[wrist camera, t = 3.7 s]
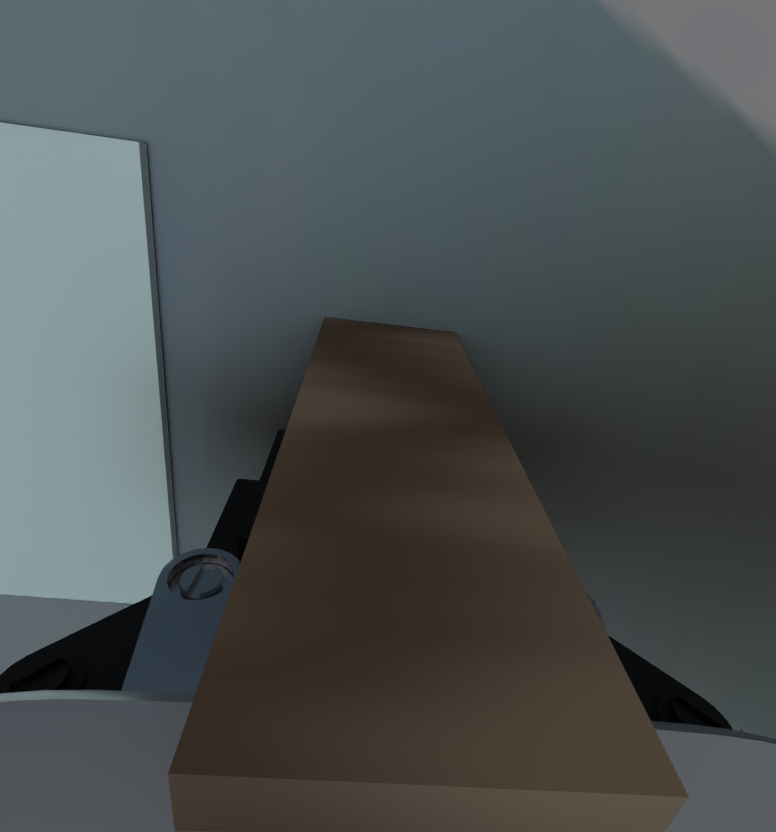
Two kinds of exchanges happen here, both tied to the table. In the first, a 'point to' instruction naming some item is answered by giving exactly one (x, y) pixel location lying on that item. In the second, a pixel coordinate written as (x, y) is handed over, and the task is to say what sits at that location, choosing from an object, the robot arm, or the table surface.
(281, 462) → the slab
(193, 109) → the table surface
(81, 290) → the board
